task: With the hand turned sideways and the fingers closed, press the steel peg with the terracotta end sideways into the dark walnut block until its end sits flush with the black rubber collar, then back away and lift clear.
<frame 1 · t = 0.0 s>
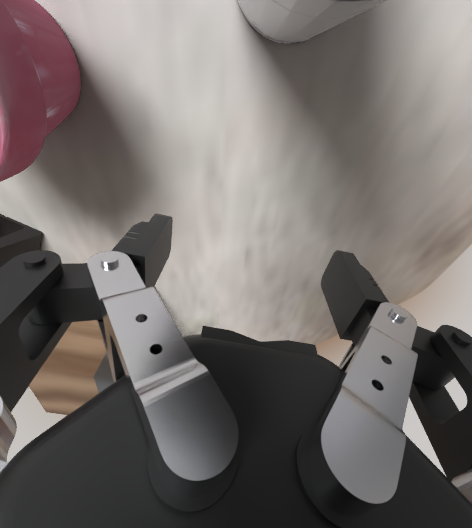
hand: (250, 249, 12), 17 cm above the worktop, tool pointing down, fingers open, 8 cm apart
plant pot: (30, 62, 23), on the worktop
housing: (124, 307, 42), on the worktop
phone stand: (6, 232, 34), on the worktop
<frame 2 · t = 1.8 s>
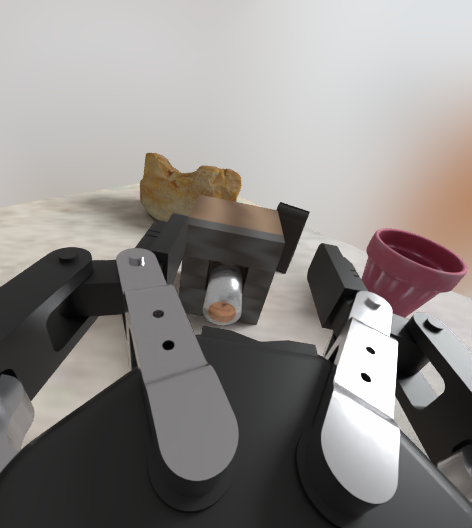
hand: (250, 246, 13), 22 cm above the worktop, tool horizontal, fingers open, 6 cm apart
plant pot: (379, 303, 50), on the worktop
peg: (225, 284, 33), point 8 cm above the worktop, slide at 6.0 cm
rough brown rock: (194, 220, 63), on the worktop
housing: (220, 295, 42), on the worktop
phone stand: (276, 259, 55), on the worktop
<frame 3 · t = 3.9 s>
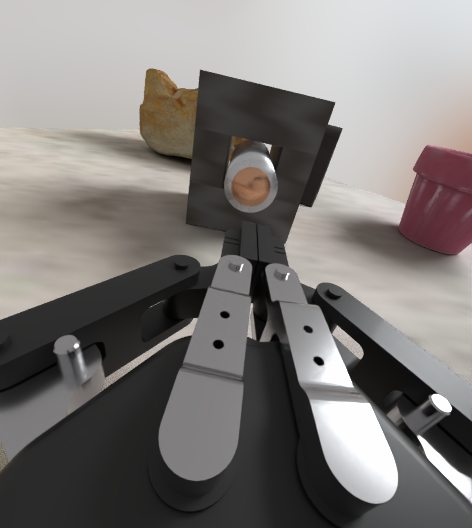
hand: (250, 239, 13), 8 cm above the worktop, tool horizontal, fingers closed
plant pot: (425, 240, 41), on the worktop
peg: (250, 171, 25), point 7 cm above the worktop, slide at 6.0 cm
rough brown rock: (202, 160, 55), on the worktop
housing: (238, 216, 34), on the worktop
phone stand: (298, 196, 47), on the worktop
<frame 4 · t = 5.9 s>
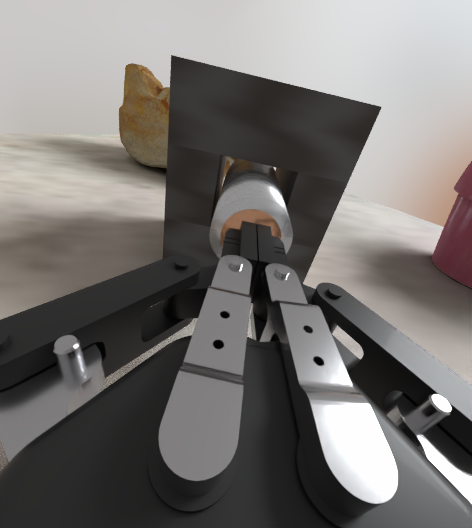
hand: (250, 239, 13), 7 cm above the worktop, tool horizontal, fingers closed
plant pot: (466, 275, 33), on the worktop
peg: (250, 203, 18), point 8 cm above the worktop, slide at 5.4 cm, touching gripper
rough brown rock: (194, 171, 47), on the worktop
housing: (234, 252, 26), on the worktop
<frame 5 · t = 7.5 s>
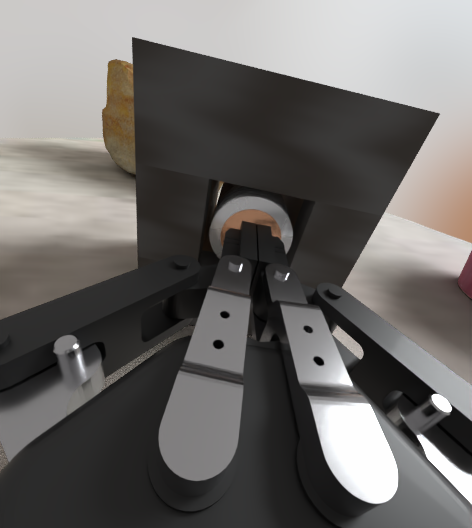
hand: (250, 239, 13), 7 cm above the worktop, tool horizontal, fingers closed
peg: (250, 203, 18), point 8 cm above the worktop, slide at 0.0 cm, touching gripper
rough brown rock: (188, 180, 43), on the worktop
housing: (230, 285, 22), on the worktop
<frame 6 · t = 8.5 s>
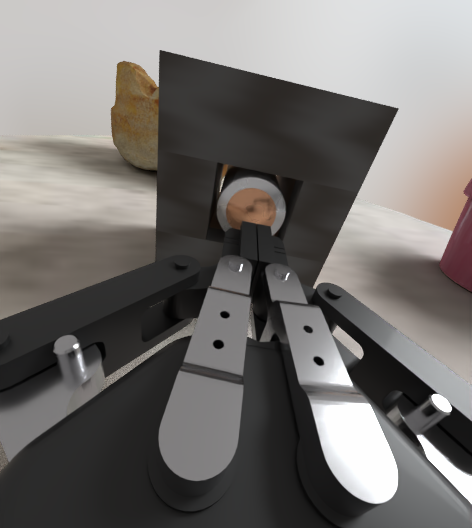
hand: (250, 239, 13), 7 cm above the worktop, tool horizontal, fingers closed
peg: (250, 188, 20), point 8 cm above the worktop, slide at 0.0 cm
rough brown rock: (190, 174, 46), on the worktop
housing: (233, 263, 25), on the worktop
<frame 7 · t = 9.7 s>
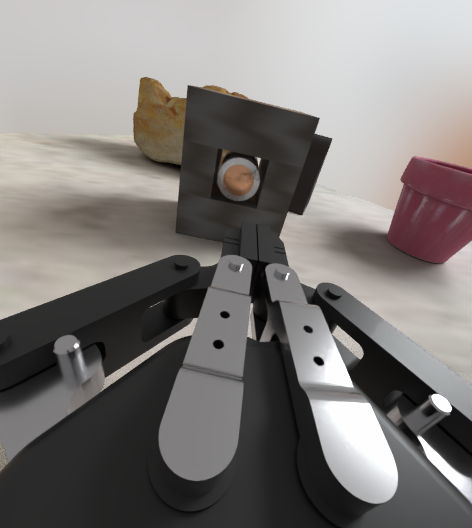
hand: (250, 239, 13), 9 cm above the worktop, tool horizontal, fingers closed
plant pot: (413, 248, 42), on the worktop
peg: (239, 169, 30), point 7 cm above the worktop, slide at 0.0 cm
rough brown rock: (195, 167, 56), on the worktop
housing: (228, 224, 35), on the worktop
phone stand: (290, 204, 48), on the worktop
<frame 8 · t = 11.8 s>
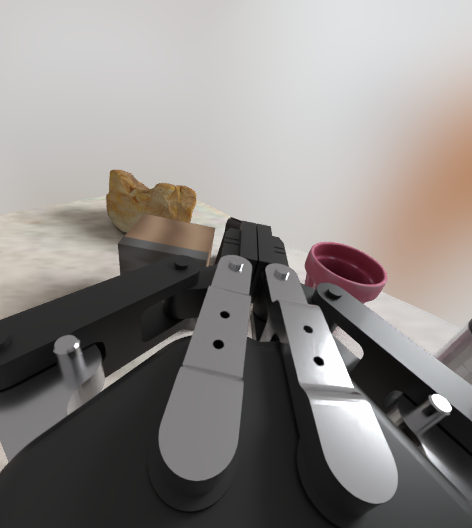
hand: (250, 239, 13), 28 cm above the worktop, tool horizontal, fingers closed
plant pot: (321, 310, 54), on the worktop
rough brown rock: (160, 231, 68), on the worktop
housing: (168, 303, 47), on the worktop
phone stand: (231, 268, 60), on the worktop
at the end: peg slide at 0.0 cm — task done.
